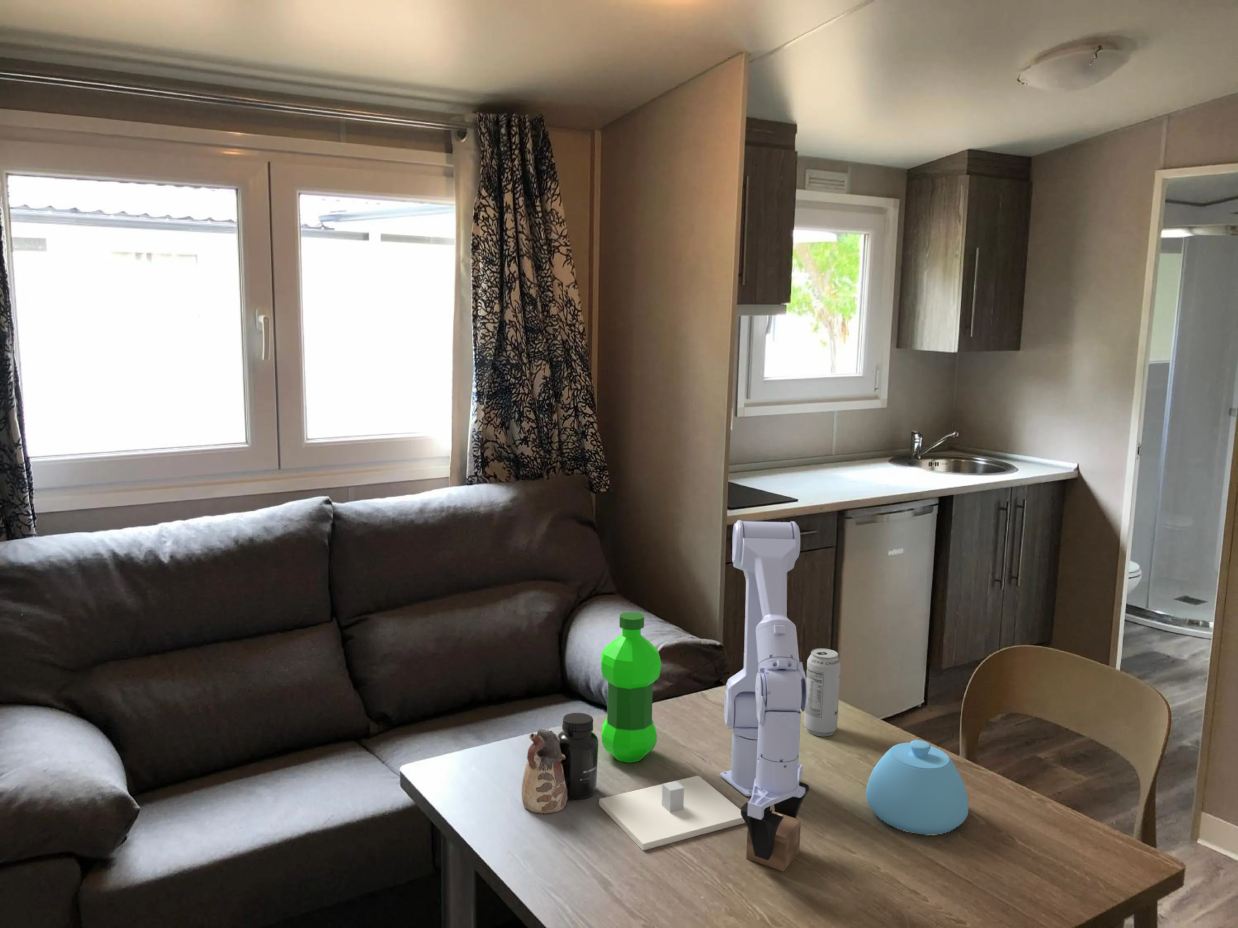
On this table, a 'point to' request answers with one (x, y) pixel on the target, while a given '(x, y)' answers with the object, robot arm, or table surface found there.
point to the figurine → (544, 774)
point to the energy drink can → (822, 692)
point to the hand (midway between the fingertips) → (773, 844)
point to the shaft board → (671, 812)
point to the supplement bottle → (579, 755)
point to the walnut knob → (780, 844)
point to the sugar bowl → (917, 789)
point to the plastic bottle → (630, 691)
